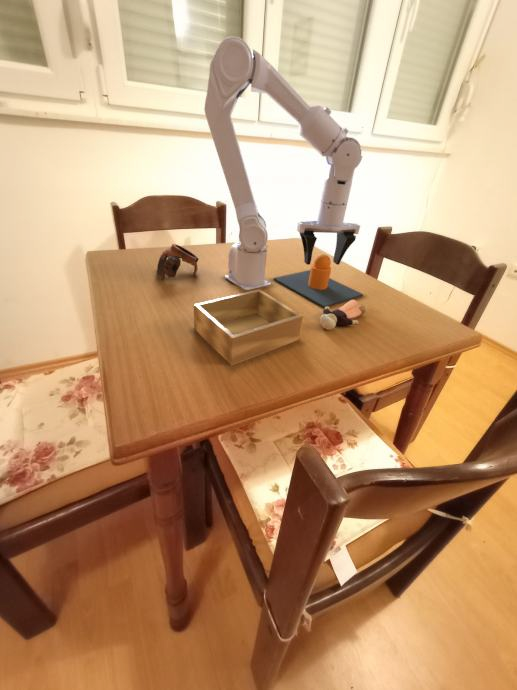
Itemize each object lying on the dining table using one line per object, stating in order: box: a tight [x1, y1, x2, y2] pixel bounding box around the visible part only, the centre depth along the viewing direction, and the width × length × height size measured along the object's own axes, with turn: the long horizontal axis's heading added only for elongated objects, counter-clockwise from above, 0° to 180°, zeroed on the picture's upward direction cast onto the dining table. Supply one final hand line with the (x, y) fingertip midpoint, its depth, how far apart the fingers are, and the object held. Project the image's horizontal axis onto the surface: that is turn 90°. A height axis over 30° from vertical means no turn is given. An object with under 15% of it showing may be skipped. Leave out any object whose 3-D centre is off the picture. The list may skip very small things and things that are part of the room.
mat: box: [273, 269, 364, 309], centre depth 79 cm, size 18×14×1 cm
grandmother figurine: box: [319, 299, 367, 331], centre depth 64 cm, size 8×4×13 cm
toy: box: [308, 253, 332, 290], centre depth 77 cm, size 5×5×8 cm
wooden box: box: [193, 288, 304, 366], centre depth 56 cm, size 13×15×6 cm
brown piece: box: [156, 243, 200, 280], centre depth 77 cm, size 12×10×8 cm
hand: (321, 263), depth 76 cm, fingers open, 7 cm apart
